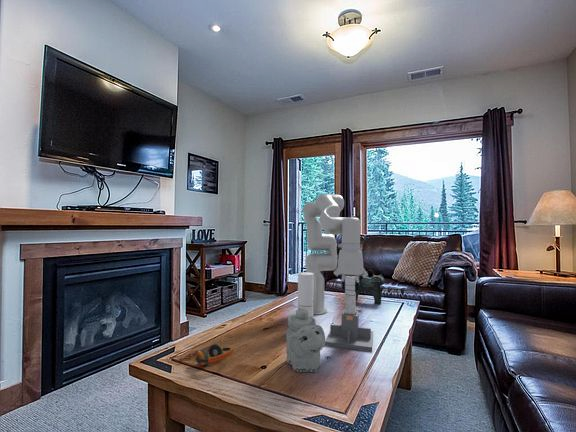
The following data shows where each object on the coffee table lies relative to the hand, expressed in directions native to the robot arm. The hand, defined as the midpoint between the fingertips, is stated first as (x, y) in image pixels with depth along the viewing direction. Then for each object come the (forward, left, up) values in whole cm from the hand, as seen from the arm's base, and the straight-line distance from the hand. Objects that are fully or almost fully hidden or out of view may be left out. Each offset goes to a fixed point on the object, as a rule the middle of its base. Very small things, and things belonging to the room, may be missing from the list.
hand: (350, 290), depth 128 cm
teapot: (-12, -30, -21) cm, 38 cm away
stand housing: (0, 0, -20) cm, 20 cm away
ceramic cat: (+4, +66, -21) cm, 69 cm away
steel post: (0, 0, -12) cm, 12 cm away
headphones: (-45, -35, -21) cm, 61 cm away
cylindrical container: (-21, +8, -20) cm, 30 cm away
